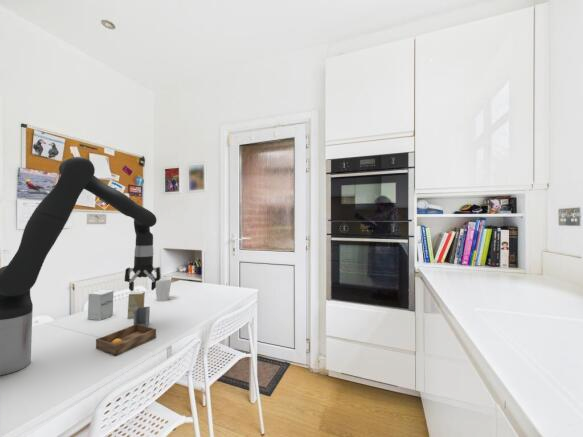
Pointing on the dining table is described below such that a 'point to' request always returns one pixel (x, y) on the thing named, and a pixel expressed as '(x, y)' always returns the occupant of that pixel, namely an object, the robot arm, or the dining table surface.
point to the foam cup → (163, 288)
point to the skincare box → (135, 302)
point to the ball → (117, 341)
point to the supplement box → (100, 304)
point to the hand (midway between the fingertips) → (142, 290)
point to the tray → (125, 339)
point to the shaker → (142, 316)
